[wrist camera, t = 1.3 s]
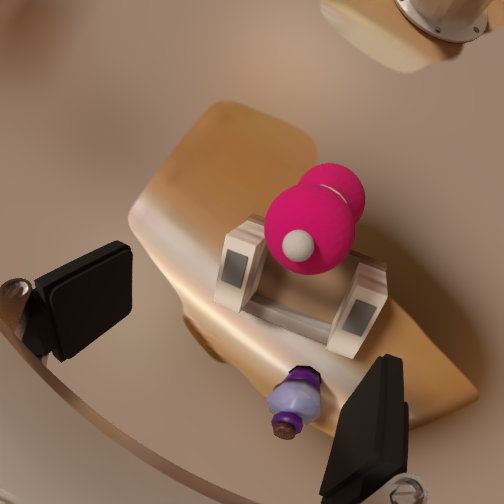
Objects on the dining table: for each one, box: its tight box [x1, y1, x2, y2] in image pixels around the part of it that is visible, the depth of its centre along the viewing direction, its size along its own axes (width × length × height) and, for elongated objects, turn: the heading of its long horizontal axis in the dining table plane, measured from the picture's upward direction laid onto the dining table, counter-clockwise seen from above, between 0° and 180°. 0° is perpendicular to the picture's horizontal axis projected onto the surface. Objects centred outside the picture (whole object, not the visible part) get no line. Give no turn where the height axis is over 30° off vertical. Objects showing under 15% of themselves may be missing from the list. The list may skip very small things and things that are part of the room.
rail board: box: [213, 214, 388, 359], centre depth 35 cm, size 12×18×8 cm, turn 77°
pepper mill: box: [264, 163, 365, 275], centre depth 24 cm, size 7×7×20 cm
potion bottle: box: [266, 366, 321, 440], centre depth 39 cm, size 9×9×12 cm
